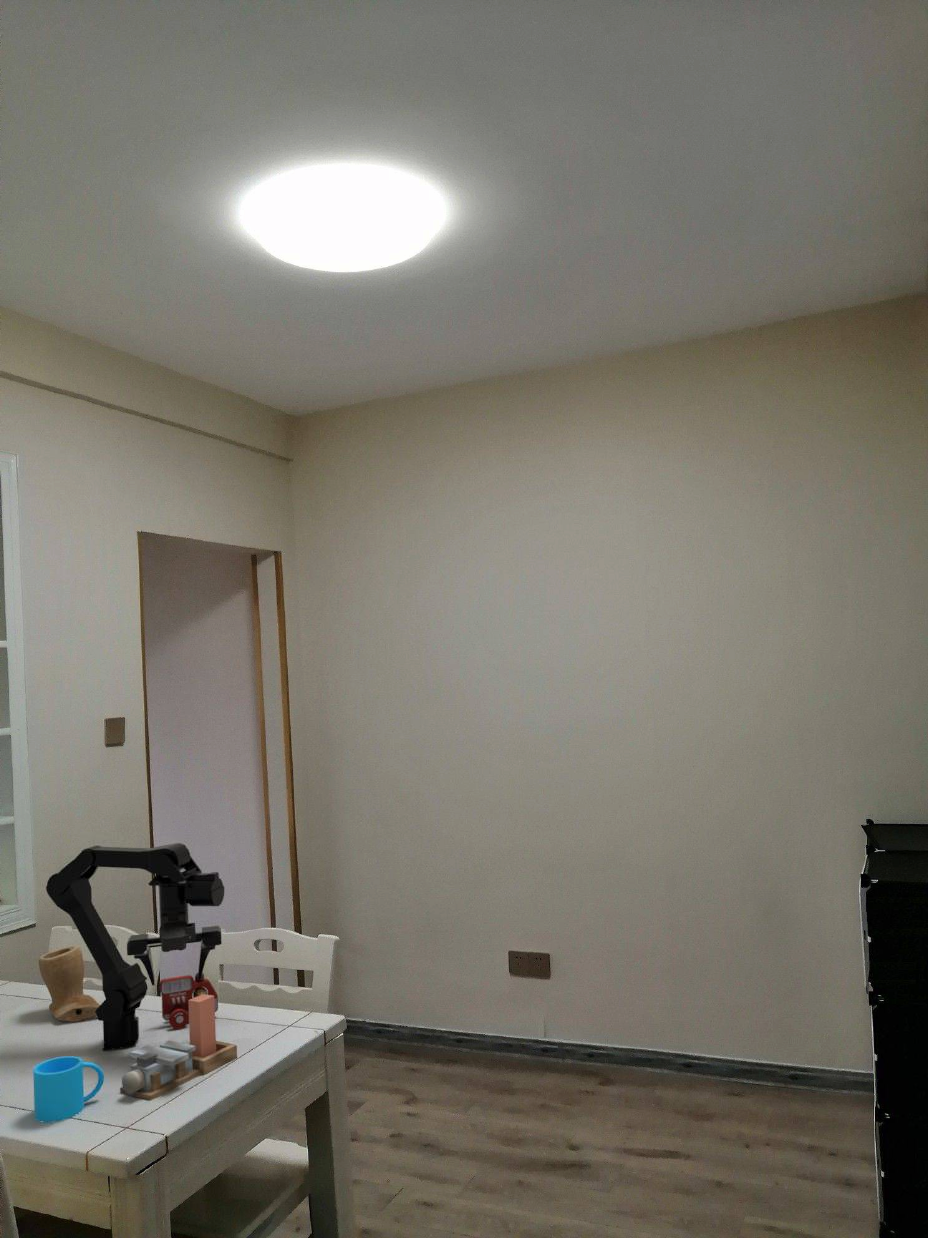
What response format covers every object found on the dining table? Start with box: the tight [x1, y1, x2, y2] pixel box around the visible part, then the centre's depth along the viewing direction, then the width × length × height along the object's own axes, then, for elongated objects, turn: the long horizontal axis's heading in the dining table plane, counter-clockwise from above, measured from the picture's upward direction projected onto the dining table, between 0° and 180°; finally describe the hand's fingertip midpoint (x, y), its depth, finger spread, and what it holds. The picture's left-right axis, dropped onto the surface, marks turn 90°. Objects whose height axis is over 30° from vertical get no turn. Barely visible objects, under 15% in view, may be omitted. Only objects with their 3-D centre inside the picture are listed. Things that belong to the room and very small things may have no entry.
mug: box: [32, 1055, 105, 1123], centre depth 178 cm, size 12×8×8 cm
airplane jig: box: [119, 1040, 238, 1101], centre depth 191 cm, size 23×11×6 cm, turn 149°
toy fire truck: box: [158, 972, 219, 1030], centre depth 220 cm, size 7×12×10 cm, turn 114°
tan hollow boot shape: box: [38, 945, 101, 1023], centre depth 229 cm, size 15×12×15 cm
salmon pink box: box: [188, 994, 217, 1058], centre depth 197 cm, size 3×4×12 cm
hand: (176, 982), depth 207 cm, fingers open, 9 cm apart
